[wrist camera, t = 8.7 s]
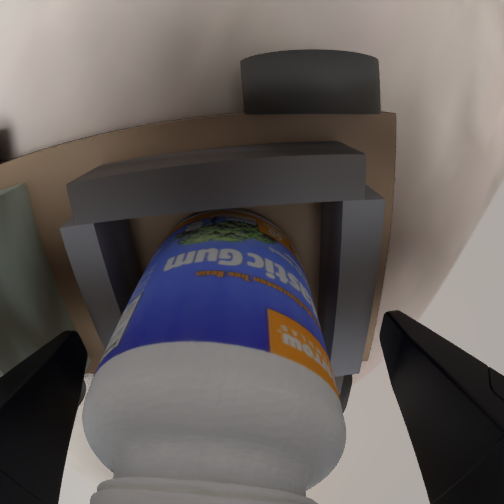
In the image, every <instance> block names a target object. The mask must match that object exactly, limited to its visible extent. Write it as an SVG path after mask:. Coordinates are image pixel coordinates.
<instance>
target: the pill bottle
mask: <svg viewBox="0 0 504 504" xmlns="http://www.w3.org/2000/svg"><path fill="white" fill-rule="evenodd" d="M82 420H83V427H84V432H85V435H86V438H87V441H88V443H89V445H90V447H91V448H92V450H93V451H94V453H95V454H96V456H97V457H98V458H99V459H100V460H101V462H102V463H103V464H104V465H105V466H106V467H107V468H109V469H110V470H111V471H112V472H113V473H114V476H113V479H110V480H107V481H104V482H102V483H100V484H99V486H98V487H97V492H96V493H94V494H93V495H92V496H91V499H90V504H318V503H316V502H315V501H314V500H312V499H310V498H307V497H306V490H308V489H310V488H311V487H313V486H315V485H316V484H318V483H319V482H321V481H322V480H323V479H324V478H325V477H327V476H328V475H329V474H330V472H331V471H332V470H333V469H334V468H335V466H336V465H337V463H338V462H339V460H340V458H341V456H342V454H343V450H344V447H345V441H346V427H345V422H344V417H343V412H342V407H341V402H340V398H339V394H338V390H337V386H336V381H335V378H334V375H333V371H332V367H331V364H330V360H329V357H328V354H327V350H326V346H325V342H324V339H323V335H322V331H321V327H320V323H319V320H318V317H317V313H316V310H315V306H314V303H313V299H312V295H311V292H310V288H309V285H308V281H307V278H306V274H305V271H304V267H303V264H302V261H301V259H300V256H299V254H298V252H297V250H296V248H295V246H294V244H293V243H292V241H291V240H290V239H289V237H288V236H287V235H286V234H285V233H284V232H283V231H282V230H281V229H280V228H279V227H277V226H276V225H275V224H273V223H272V222H270V221H269V220H267V219H265V218H263V217H261V216H259V215H257V214H254V213H251V212H248V211H243V210H238V209H218V210H209V211H205V212H201V213H198V214H195V215H193V216H191V217H189V218H187V219H185V220H184V221H182V222H181V223H179V224H178V225H176V226H175V227H174V228H173V229H172V230H171V231H170V232H169V233H168V234H167V235H166V237H165V238H164V239H163V241H162V242H161V243H160V245H159V246H158V248H157V249H156V251H155V253H154V255H153V256H152V258H151V260H150V262H149V264H148V266H147V268H146V269H145V271H144V273H143V275H142V277H141V279H140V281H139V283H138V285H137V287H136V289H135V290H134V292H133V294H132V296H131V298H130V300H129V302H128V304H127V306H126V308H125V310H124V312H123V314H122V316H121V318H120V320H119V322H118V324H117V327H116V329H115V331H114V333H113V335H112V337H111V339H110V341H109V344H108V346H107V348H106V350H105V352H104V355H103V357H102V359H101V361H100V363H99V366H98V368H97V370H96V373H95V375H94V378H93V380H92V382H91V385H90V387H89V390H88V393H87V395H86V398H85V402H84V407H83V413H82Z"/></svg>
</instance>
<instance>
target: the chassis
mask: <svg viewBox="0 0 504 504" xmlns="http://www.w3.org/2000/svg"><path fill="white" fill-rule="evenodd" d="M240 63H241V76H242V88H243V100H244V112H242V113H230V114H220V115H211V116H202V117H194V118H186V119H179V120H172V121H166V122H160V123H154V124H148V125H142V126H137V127H132V128H127V129H122V130H117V131H112V132H108V133H103V134H99V135H95V136H91V137H86V138H82V139H78V140H75V141H71V142H67V143H63V144H60V145H56V146H53V147H49V148H46V149H43V150H39V151H36V152H33V153H30V154H27V155H24V156H21V157H18V158H15V159H12V160H9V161H6V162H3V163H1V164H0V377H1V376H3V375H4V374H5V373H7V372H8V371H9V370H11V369H12V368H13V367H15V366H16V365H18V364H19V363H20V362H22V361H23V360H24V359H26V358H27V357H28V356H30V355H31V354H33V353H34V352H35V351H37V350H38V349H40V348H41V347H42V346H44V345H45V344H46V343H48V342H49V341H51V340H52V339H54V338H55V337H56V336H58V335H59V334H61V333H62V332H63V331H66V330H74V331H77V332H78V333H79V335H80V337H81V339H82V341H83V343H84V345H85V347H86V349H87V353H88V359H87V364H86V369H85V373H94V374H95V373H96V370H97V368H98V366H99V363H100V361H101V359H102V357H103V355H104V352H105V350H106V348H107V346H108V344H109V341H110V339H111V337H112V335H113V333H114V331H115V329H116V327H117V324H118V322H119V320H120V318H121V316H122V314H123V312H124V310H125V308H126V306H127V304H128V302H129V300H130V298H131V296H132V294H133V292H134V290H135V289H136V287H137V285H138V283H139V281H140V279H141V277H142V275H143V273H144V271H145V269H146V268H147V266H148V264H149V262H150V260H151V258H152V256H153V255H154V253H155V251H156V249H157V248H158V246H159V245H160V243H161V242H162V241H163V239H164V238H165V237H166V235H167V234H168V233H169V232H170V231H171V230H172V229H173V228H174V227H175V226H176V225H178V224H179V223H181V222H182V221H184V220H185V219H187V218H189V217H191V216H193V215H195V214H198V213H201V212H205V211H209V210H218V209H238V210H243V211H248V212H251V213H254V214H257V215H259V216H261V217H263V218H265V219H267V220H269V221H270V222H272V223H273V224H275V225H276V226H277V227H279V228H280V229H281V230H282V231H283V232H284V233H285V234H286V235H287V236H288V237H289V239H290V240H291V241H292V243H293V244H294V246H295V248H296V250H297V252H298V254H299V256H300V259H301V261H302V264H303V267H304V271H305V274H306V278H307V281H308V285H309V288H310V292H311V295H312V299H313V303H314V306H315V310H316V313H317V317H318V320H319V323H320V327H321V331H322V335H323V339H324V342H325V346H326V350H327V354H328V357H329V360H330V364H331V367H332V371H333V375H334V378H335V381H336V386H337V390H338V394H339V398H340V402H341V407H342V412H344V410H345V408H346V405H347V402H348V398H349V393H350V389H351V385H352V374H357V373H359V372H360V367H361V363H362V361H368V358H369V354H370V349H371V345H372V340H373V336H374V331H375V326H376V321H377V316H378V310H379V305H380V299H381V294H382V288H383V281H384V275H385V268H386V261H387V254H388V246H389V237H390V228H391V218H392V207H393V195H394V180H395V158H396V113H390V112H383V111H381V107H380V80H379V63H378V59H377V58H375V57H372V56H369V55H365V54H361V53H355V52H348V51H338V50H316V49H314V50H288V51H278V52H270V53H264V54H259V55H255V56H251V57H248V58H245V59H243V60H241V62H240ZM85 392H86V384H85V381H84V380H83V386H82V392H81V397H80V401H79V405H80V404H81V402H82V401H83V398H84V396H85ZM79 405H78V406H79Z"/></svg>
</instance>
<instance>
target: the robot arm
mask: <svg viewBox="0 0 504 504" xmlns="http://www.w3.org/2000/svg"><path fill="white" fill-rule="evenodd" d="M380 343H381V347H382V350H383V354H384V358H385V362H386V365H387V369H388V373H389V377H390V381H391V385H392V387H393V391H394V393H395V396H396V399H397V401H398V404H399V407H400V410H401V413H402V416H403V418H404V421H405V424H406V427H407V430H408V433H409V436H410V439H411V442H412V445H413V448H414V451H415V454H416V457H417V460H418V463H419V467H420V470H421V473H422V477H423V480H424V483H425V487H426V490H427V494H428V498H429V501H430V504H504V376H503V375H501V374H499V373H498V372H497V371H495V370H493V369H492V368H490V367H489V368H488V366H487V365H486V364H484V363H483V362H481V361H479V360H478V359H476V358H475V357H473V356H472V355H470V354H468V353H467V352H465V351H464V350H462V349H461V348H459V347H457V346H456V345H454V344H453V343H451V342H449V341H448V340H446V339H445V338H443V337H441V336H440V335H438V334H437V333H435V332H433V331H432V330H430V329H429V328H427V327H425V326H424V325H422V324H420V323H419V322H417V321H416V320H414V319H412V318H411V317H409V316H407V315H406V314H404V313H402V312H401V311H399V310H395V311H388V312H386V313H385V314H384V317H383V321H382V326H381V331H380ZM87 359H88V353H87V349H86V347H85V345H84V343H83V341H82V339H81V337H80V335H79V333H78V332H77V331H74V330H66V331H63V332H62V333H61V334H59V335H58V336H56V337H55V338H54V339H52V340H51V341H49V342H48V343H46V344H45V345H44V346H42V347H41V348H40V349H38V350H37V351H35V352H34V353H33V354H31V355H30V356H28V357H27V358H26V359H24V360H23V361H22V362H20V363H19V364H18V365H16V366H15V367H13V368H12V369H11V370H9V371H8V372H7V373H5V374H4V375H3V376H1V377H0V504H58V501H59V494H60V488H61V482H62V477H63V471H64V466H65V461H66V456H67V451H68V447H69V442H70V438H71V433H72V429H73V425H74V421H75V417H76V413H77V409H78V405H79V401H80V397H81V392H82V386H83V380H84V374H85V369H86V364H87Z"/></svg>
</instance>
